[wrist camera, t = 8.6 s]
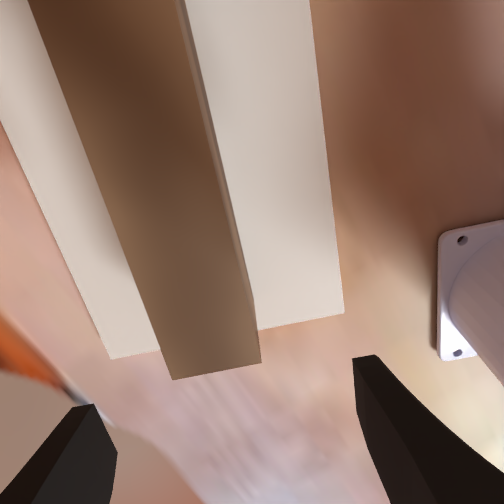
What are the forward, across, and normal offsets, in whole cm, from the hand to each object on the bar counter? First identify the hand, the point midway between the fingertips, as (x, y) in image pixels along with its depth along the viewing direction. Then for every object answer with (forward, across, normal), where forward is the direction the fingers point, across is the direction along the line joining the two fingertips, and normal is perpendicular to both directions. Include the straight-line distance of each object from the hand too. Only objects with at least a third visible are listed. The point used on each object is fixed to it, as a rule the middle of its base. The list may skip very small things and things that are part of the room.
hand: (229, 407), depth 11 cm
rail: (+8, +1, -7) cm, 11 cm away
